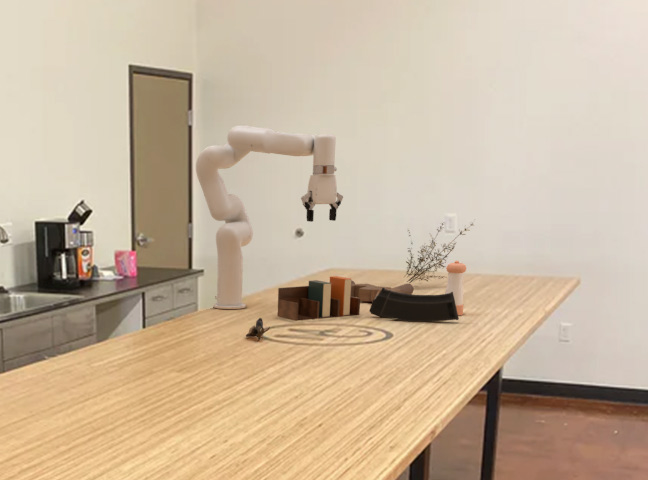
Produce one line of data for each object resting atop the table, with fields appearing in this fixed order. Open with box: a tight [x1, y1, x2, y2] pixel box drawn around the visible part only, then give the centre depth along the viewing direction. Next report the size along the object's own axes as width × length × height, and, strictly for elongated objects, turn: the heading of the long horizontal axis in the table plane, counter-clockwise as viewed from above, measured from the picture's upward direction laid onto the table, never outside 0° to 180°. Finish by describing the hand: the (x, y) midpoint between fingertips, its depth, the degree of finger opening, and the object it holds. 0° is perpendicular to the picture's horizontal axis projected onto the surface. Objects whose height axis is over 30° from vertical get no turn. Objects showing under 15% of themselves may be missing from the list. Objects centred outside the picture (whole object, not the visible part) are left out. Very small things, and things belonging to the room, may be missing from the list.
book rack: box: [277, 285, 361, 322], centre depth 382 cm, size 12×27×11 cm, turn 116°
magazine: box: [369, 288, 460, 323], centre depth 373 cm, size 17×3×30 cm
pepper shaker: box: [444, 260, 467, 316], centre depth 387 cm, size 7×7×19 cm
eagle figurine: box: [245, 317, 271, 342], centre depth 341 cm, size 8×7×9 cm
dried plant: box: [404, 220, 475, 284], centre depth 466 cm, size 30×31×45 cm
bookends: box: [350, 279, 414, 303], centre depth 432 cm, size 35×6×29 cm
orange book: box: [329, 275, 352, 317], centre depth 385 cm, size 9×3×13 cm, turn 26°
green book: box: [308, 279, 331, 317], centre depth 381 cm, size 9×4×12 cm, turn 26°
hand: (321, 220), depth 382 cm, fingers open, 9 cm apart
